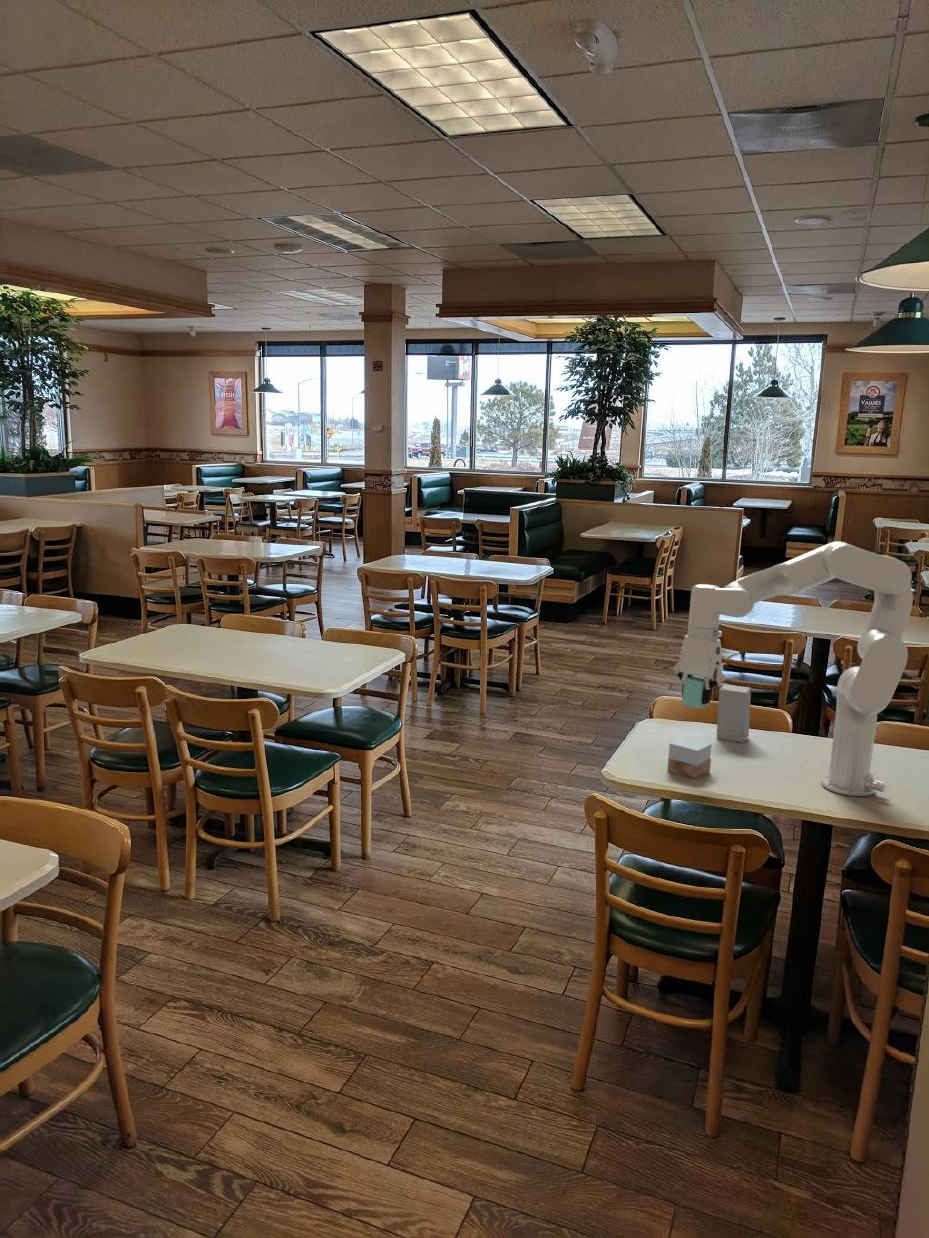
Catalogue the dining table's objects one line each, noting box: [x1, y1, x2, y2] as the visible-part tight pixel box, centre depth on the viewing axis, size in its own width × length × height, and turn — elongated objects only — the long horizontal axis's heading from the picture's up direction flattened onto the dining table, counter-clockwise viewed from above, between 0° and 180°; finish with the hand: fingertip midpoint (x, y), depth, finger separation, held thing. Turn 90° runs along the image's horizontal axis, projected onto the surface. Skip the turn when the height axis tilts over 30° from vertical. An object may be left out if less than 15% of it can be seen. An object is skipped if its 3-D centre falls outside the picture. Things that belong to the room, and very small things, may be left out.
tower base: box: [666, 758, 712, 780], centre depth 236 cm, size 8×8×4 cm
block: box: [681, 675, 710, 709], centre depth 232 cm, size 5×5×7 cm
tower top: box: [667, 736, 712, 766], centre depth 235 cm, size 8×8×4 cm
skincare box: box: [716, 684, 752, 744], centre depth 265 cm, size 8×7×16 cm
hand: (696, 700), depth 232 cm, fingers closed on block, 5 cm apart
